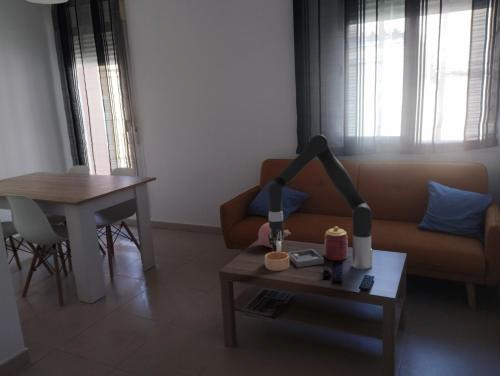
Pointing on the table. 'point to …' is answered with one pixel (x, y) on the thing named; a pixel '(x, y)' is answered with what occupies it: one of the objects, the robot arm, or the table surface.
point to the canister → (336, 244)
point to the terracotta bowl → (277, 261)
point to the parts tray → (306, 258)
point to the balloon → (266, 231)
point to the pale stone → (278, 246)
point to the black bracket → (325, 275)
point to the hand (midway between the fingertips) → (276, 249)
